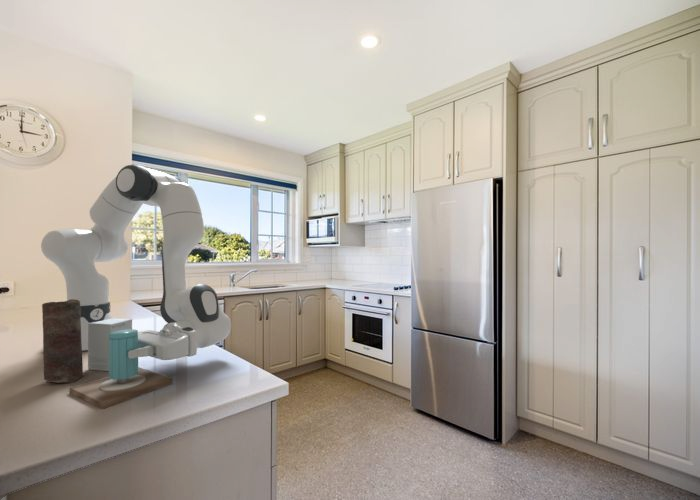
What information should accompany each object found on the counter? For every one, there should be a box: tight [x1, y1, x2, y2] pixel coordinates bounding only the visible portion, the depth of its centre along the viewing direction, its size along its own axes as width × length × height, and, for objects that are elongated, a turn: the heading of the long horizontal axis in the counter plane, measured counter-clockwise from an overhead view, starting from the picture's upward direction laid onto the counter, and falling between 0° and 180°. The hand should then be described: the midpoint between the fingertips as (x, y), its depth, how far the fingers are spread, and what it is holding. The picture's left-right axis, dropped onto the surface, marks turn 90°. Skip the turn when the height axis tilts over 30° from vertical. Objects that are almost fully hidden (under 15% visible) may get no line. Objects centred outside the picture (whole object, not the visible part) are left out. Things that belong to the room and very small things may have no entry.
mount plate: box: [69, 366, 174, 409], centre depth 78 cm, size 15×15×6 cm
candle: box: [41, 299, 84, 384], centre depth 83 cm, size 8×7×20 cm
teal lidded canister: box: [108, 328, 139, 380], centre depth 78 cm, size 6×6×10 cm
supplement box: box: [87, 317, 133, 372], centre depth 93 cm, size 7×7×13 cm
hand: (119, 352), depth 78 cm, fingers closed on teal lidded canister, 6 cm apart
